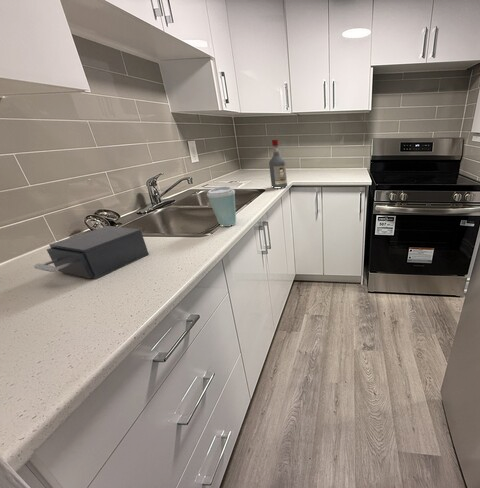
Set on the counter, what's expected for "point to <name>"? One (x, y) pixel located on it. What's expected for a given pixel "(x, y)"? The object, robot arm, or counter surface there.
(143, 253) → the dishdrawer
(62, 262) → the drawer
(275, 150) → the liquor
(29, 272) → the counter surface
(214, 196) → the disposable coffee cup
